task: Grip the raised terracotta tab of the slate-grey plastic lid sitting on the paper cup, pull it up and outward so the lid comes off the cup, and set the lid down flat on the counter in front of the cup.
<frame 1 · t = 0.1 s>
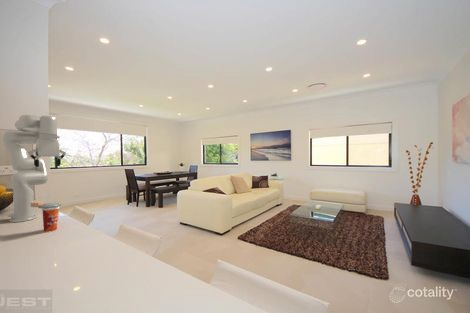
hand: (47, 166, 121), 37 cm above the counter, tool pointing down, fingers open, 9 cm apart
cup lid: (49, 206, 120), point 14 cm above the counter, touching paper cup
paper cup: (50, 230, 120), on the counter, touching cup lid
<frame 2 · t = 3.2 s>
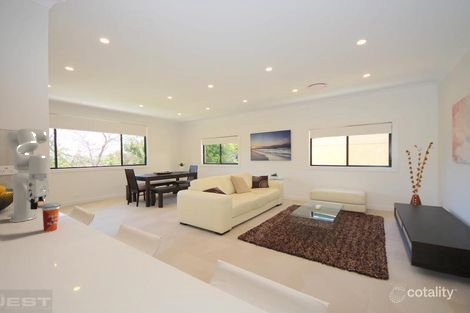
hand: (37, 207, 119), 13 cm above the counter, tool pointing down, fingers closed on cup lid, 3 cm apart
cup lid: (49, 206, 120), point 14 cm above the counter, touching gripper, paper cup
everything else where it was.
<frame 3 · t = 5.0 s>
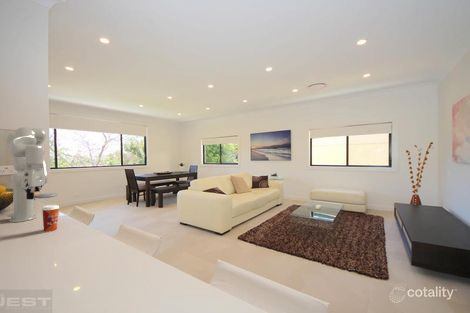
hand: (33, 198, 119), 19 cm above the counter, tool pointing down, fingers closed on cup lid, 3 cm apart
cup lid: (46, 196, 119), point 20 cm above the counter, touching gripper
paper cup: (50, 230, 120), on the counter
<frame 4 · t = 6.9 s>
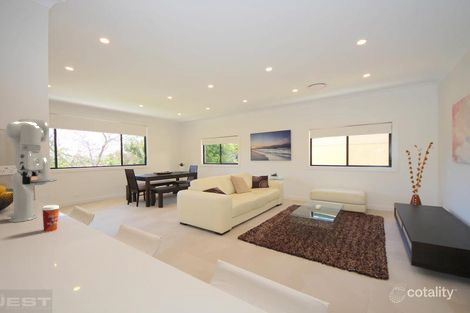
hand: (30, 183, 107), 29 cm above the counter, tool pointing down, fingers closed on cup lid, 3 cm apart
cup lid: (44, 181, 108), point 30 cm above the counter, touching gripper
everything else where it was.
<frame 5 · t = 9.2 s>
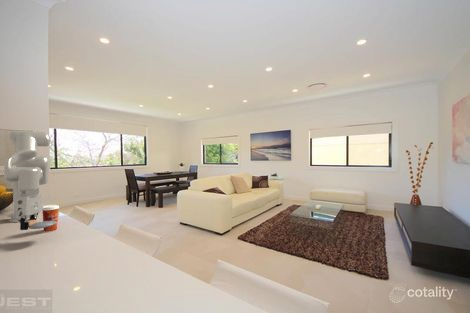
hand: (28, 227, 105), 7 cm above the counter, tool pointing down, fingers closed on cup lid, 3 cm apart
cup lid: (42, 225, 106), point 8 cm above the counter, touching gripper
everything else where it was.
when the fingers open (1 cm above the counter, at t = 10.9 s): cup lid drops 2 cm, on the counter.
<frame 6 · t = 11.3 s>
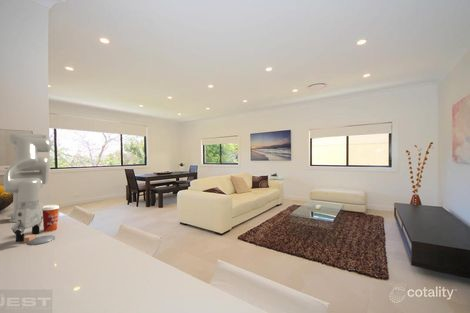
hand: (28, 237, 105), 2 cm above the counter, tool pointing down, fingers open, 8 cm apart
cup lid: (42, 240, 106), on the counter
everything else where it was.
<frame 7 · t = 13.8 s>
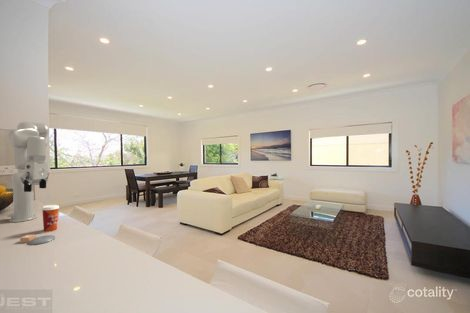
hand: (35, 189, 113), 25 cm above the counter, tool pointing down, fingers open, 9 cm apart
nothing on the counter moved.
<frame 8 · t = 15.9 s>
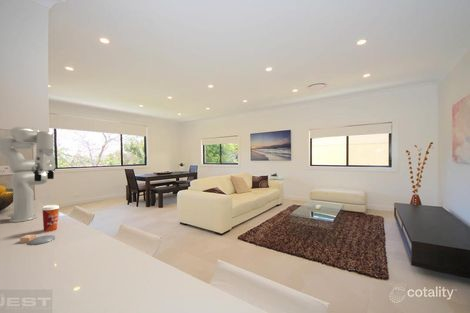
hand: (44, 179, 125), 28 cm above the counter, tool pointing down, fingers open, 9 cm apart
nothing on the counter moved.
at the end: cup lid inside the target area (0.1 cm from its centre), on the counter; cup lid tilted 0°; paper cup tilted 0° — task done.
